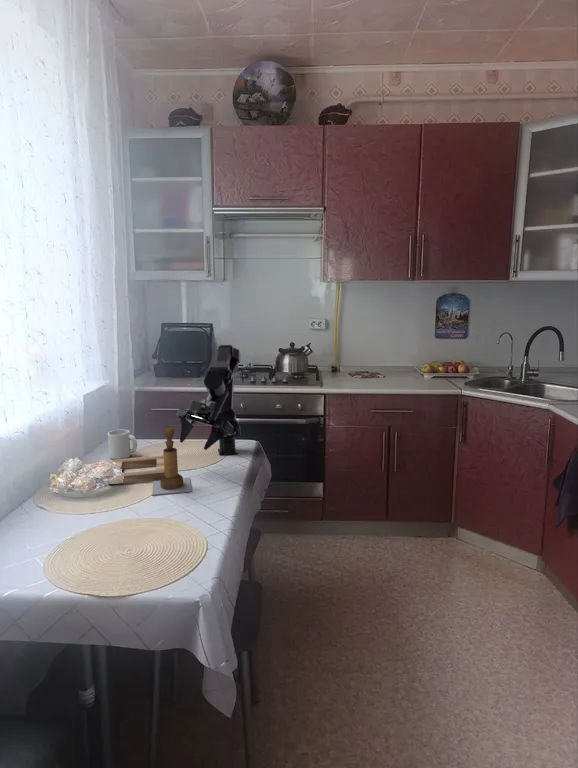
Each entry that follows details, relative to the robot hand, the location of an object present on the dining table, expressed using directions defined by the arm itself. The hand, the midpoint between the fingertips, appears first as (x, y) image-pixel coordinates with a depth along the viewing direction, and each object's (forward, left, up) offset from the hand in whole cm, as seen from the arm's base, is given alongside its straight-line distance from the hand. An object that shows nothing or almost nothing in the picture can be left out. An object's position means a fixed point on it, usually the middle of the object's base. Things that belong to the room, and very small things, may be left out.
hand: (192, 445), depth 159 cm
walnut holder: (-10, -17, -11) cm, 22 cm away
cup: (-29, -23, -11) cm, 38 cm away
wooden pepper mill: (+5, -7, -10) cm, 14 cm away
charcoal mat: (+5, -7, -11) cm, 14 cm away
